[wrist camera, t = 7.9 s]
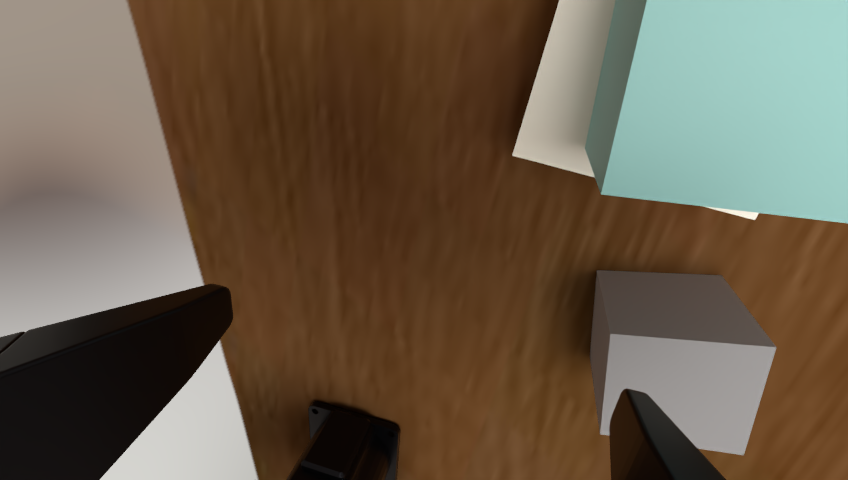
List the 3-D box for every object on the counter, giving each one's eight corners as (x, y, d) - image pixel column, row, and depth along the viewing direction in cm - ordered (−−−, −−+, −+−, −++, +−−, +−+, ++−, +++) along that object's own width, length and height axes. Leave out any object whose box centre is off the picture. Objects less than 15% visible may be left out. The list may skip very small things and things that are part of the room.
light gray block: (700, 365, 20) (743, 455, 15) (589, 354, 21) (599, 433, 17) (720, 274, 18) (776, 347, 13) (596, 269, 19) (610, 333, 15)
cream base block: (711, 184, 17) (754, 219, 13) (519, 134, 18) (512, 155, 14) (841, -50, 13) (950, -87, 9) (588, -92, 14) (601, -139, 11)
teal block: (756, 164, 13) (866, 225, 8) (584, 148, 14) (600, 194, 9) (832, -30, 10) (1037, -87, 6) (621, -30, 12) (664, -77, 7)
